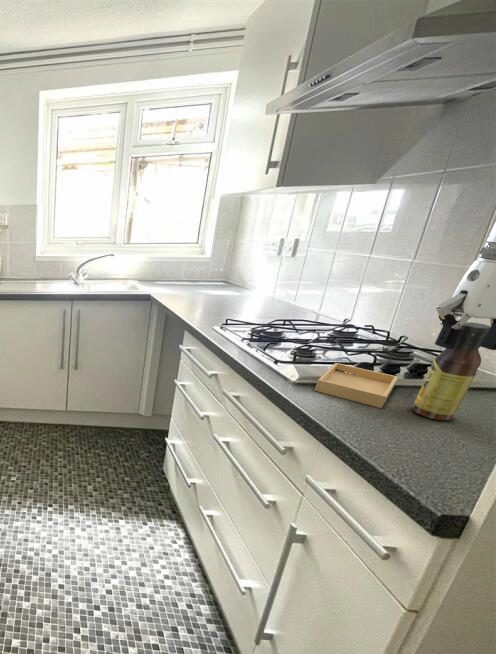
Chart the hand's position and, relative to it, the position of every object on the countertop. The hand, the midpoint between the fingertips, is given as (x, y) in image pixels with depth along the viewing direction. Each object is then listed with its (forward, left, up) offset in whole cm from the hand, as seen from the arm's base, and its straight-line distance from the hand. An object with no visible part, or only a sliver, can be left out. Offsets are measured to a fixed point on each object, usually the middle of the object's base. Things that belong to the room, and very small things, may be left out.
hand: (465, 346), depth 82 cm
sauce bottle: (0, 0, -15) cm, 15 cm away
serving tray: (+6, -13, -15) cm, 21 cm away
